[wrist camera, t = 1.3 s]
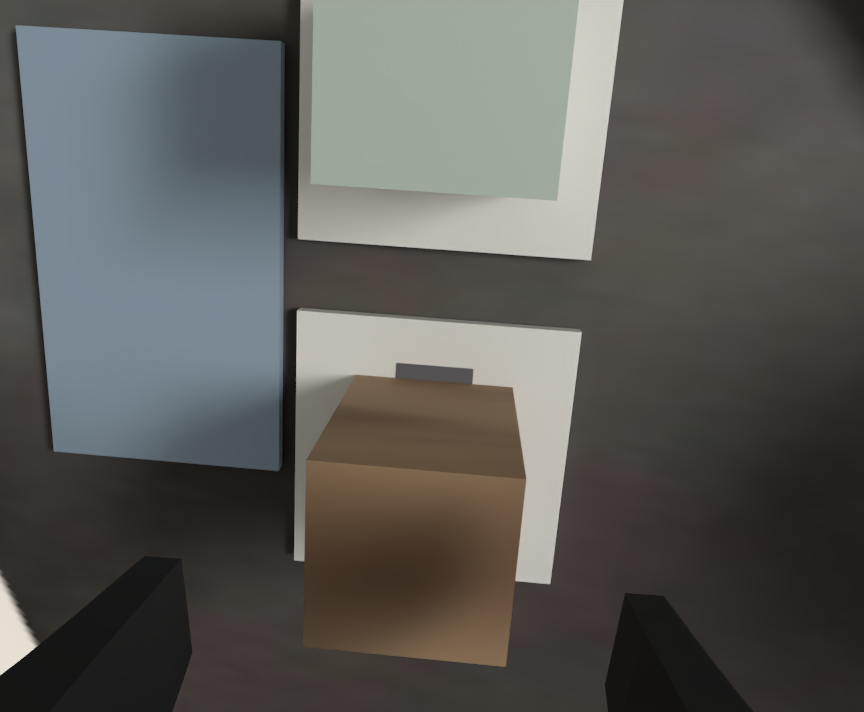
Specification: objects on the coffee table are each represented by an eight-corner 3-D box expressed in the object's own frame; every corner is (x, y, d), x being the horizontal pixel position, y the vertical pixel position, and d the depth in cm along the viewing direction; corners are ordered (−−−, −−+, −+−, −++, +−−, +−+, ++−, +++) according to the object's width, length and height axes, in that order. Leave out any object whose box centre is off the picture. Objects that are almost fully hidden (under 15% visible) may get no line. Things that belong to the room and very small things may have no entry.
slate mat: (282, 465, 21) (278, 471, 21) (61, 446, 22) (53, 451, 21) (284, 43, 18) (281, 41, 18) (25, 28, 18) (15, 25, 18)
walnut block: (498, 528, 21) (505, 666, 15) (351, 515, 21) (303, 646, 15) (512, 387, 20) (526, 479, 14) (355, 374, 20) (305, 460, 14)
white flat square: (588, 258, 19) (590, 260, 19) (301, 237, 19) (297, 239, 19) (629, -70, 17) (633, -75, 17) (305, -86, 17) (301, -92, 17)
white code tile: (548, 576, 22) (550, 584, 21) (297, 553, 22) (294, 560, 22) (579, 329, 20) (581, 332, 19) (300, 307, 20) (296, 310, 20)
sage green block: (532, 189, 18) (557, 201, 13) (363, 177, 18) (310, 184, 13) (551, 1, 17) (587, -82, 11) (369, -9, 17) (315, -95, 12)
